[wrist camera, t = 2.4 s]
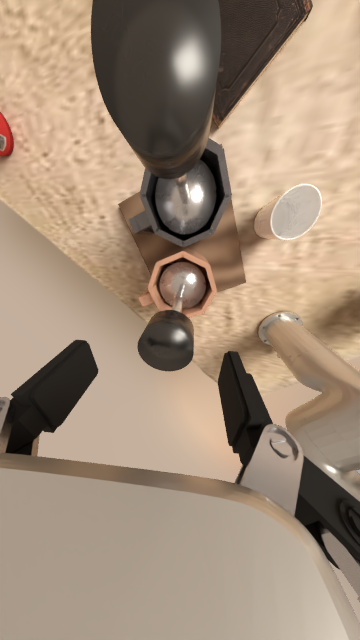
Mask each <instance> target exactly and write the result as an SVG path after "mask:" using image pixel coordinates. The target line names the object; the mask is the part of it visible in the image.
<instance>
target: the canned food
mask: <svg viewBox="0 0 360 640" xmlns="http://www.w3.org/2000/svg"><path fill="white" fill-rule="evenodd" d="M13 144H14V143H13V136H12V132H11V129H10V127H9V125H8V123H7V121H6V119H5V118H4V116H3V115H2V113H1V112H0V156H9V155H10V154H11V152H12V150H13Z"/></svg>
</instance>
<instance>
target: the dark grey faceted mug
mask: <svg viewBox="0 0 360 640" xmlns="http://www.w3.org/2000/svg"><path fill="white" fill-rule="evenodd" d="M200 160H202V161H203V162H204V163H205V164H206V165H207V166H208V168H209V169H210V171H211V173H212V175H213V177H214V181H215V185H216V202H215V206H214V210H213V212H212V215H211V217H210V218H209V220H208V221H207V223H206V224H205V225H204V226H203V227H202V228H201V229H200V230H198V231H196V232H194V233H192V234H179V233H176V232H174V231H172V230H170V229H169V228H168V227H167V226H166V225H165V224H164V223H163V221H162V220H161V218H160V216H159V213H158V210H157V206H156V199H155V193H156V186H157V182H158V179H159V177H157V176H155V175H153V174H152V173H151V172H149V171H148V170H147V169H146V168H145V172H144V177H143V181H142V186H141V190H140V199H141V201H142V204H143V206H144V209H145V211H143V212H141V213H139V214H138V215H136V216H134V217H132V218H130V219H128V220H129V223H130V225H131V227H132V229H133V231H134V233H135V234H142V235H149V236H150V235H152V234H154V233H155V234H157V235H159V236H161V237H163V238H165V239H167V240H169V241H171V242H173V243H175V244H177V245H179V246H181V247H186V246H188V245H191V244H193V243H195V242H197V241H200V240H202V239H204V238H207V237H209V236H211V235H213V234H214V232H215V230H216V228H217V226H218V224H219V222H220V220H221V218H222V215H223V213H224V211H225V209H226V207H227V205H228V203H229V201H230V199H231V195H232V194H231V188H230V182H229V177H228V171H227V165H226V159H225V154H224V148H223V149H222V146H221V145H219V144H217V143H216V142H214V141H213V140H211V139H209V138H208V141H207V144H206V147H205V149H204V152H203V154H202V156H201V158H200Z"/></svg>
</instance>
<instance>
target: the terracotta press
mask: <svg viewBox="0 0 360 640" xmlns="http://www.w3.org/2000/svg"><path fill="white" fill-rule="evenodd" d="M177 262H188V263H191V264H194V265H195V266H197V267H198V268H199V269H200V270H201V272H202V273H203V275H204V277H205V281H206V290H205V294H204V296H203V298H202V299H201V300H200V302H199V303H197V304H196V305H194V306H192V307H190V308H181V313H183V314H184V315H186V316H187V317H188V318H190V317H193V316H197V315H200V314H203V313H205V311H206V309H207V308H208V306H209V304H210V303H211V301H212V299H213V298H214V296H215V294H216V292H217V289H216V285H215V281H214V278H213V274H212V271H211V267H210V264H209V263H208V261H207V260H206V258H205V257H204V256H202V255H200V254H199V253H197V252H195V251H193V250H191V249H189V248H185V249H183V250H181V251H178V252H176V253H174V254H171V255H169V256H167V257H165V258H163V259H161V260H160V261H158V262H157V263H156V264H155V267H154V270H153V273H152V276H151V279H150V282H149V285H148V289H147V290H146V291H145V292H144V293H143V294H142V295H141V296H140V297H139V298H138V299H139V301H140V303H141V305H142V306H143V307H144V306H146V305H149V304H152V303H155V304H156V306H157V308H158V310H159V311H163V310H171V309H172V305H170V304H169V303H168V302H166V300H165V299H164V298H163V296H162V294H161V292H160V279H161V276H162V274H163V272H164V271H165V270H166V269H167V268H168V267H169V266H170V265H172V264H174V263H177Z"/></svg>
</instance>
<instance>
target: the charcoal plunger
mask: <svg viewBox="0 0 360 640" xmlns="http://www.w3.org/2000/svg"><path fill="white" fill-rule="evenodd" d="M91 43H92V54H93V63H94V68H95V73H96V78H97V81H98V85H99V89H100V92H101V95H102V98H103V100H104V103H105V105H106V107H107V110H108V112H109V114H110V115H111V117H112V119H113V121H114V122H115V124H116V125H117V127H118V128H119V130H120V131H121V133H122V134H123V136H124V137H125V139H126V140H127V142H128V143H129V145H130V146H131V148H132V149H133V151H134V152H135V154H136V155H137V157H138V158H139V160H140V161H141V163H142V164H143V165H144V166H145V168H146V169H147V170H148V171H149V172H151V173H152V174H153V175H155V176H157V177H159V179H158V182H157V186H156V193H155V199H156V206H157V210H158V213H159V216H160V218H161V220H162V221H163V223H164V224H165V225H166V226H167V227H168V228H169V229H170V230H172V231H174V232H176V233H179V234H192V233H194V232H196V231H198V230H200V229H201V228H202V227H203V226H204V225H205V224H206V223H207V221H208V220H209V218H210V217H211V215H212V212H213V210H214V206H215V202H216V185H215V181H214V177H213V175H212V173H211V171H210V169H209V168H208V166H207V165H206V164H205V163H204V162H203V161H202V160H200V158H201V156H202V154H203V152H204V149H205V147H206V144H207V141H208V138H209V133H210V127H211V120H212V113H213V106H214V98H215V91H216V84H217V77H218V70H219V62H220V53H221V19H220V8H219V2H218V0H93V5H92V15H91Z"/></svg>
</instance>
